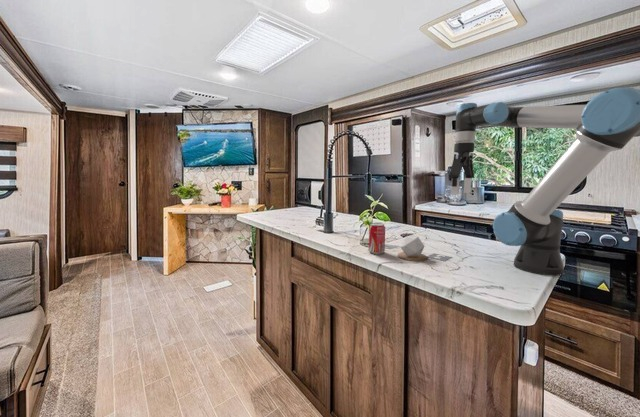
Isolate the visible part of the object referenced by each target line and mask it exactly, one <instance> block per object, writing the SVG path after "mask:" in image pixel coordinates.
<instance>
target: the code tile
mask: <svg viewBox="0 0 640 417" xmlns="http://www.w3.org/2000/svg"><path fill="white" fill-rule="evenodd" d="M426 256H427V259H433V260H437V261H440V262H446V261H448V260H450V259H452V258H453V256H448V255H444V254H439V253H434V252H433V253H431V254H429V255H426Z"/></svg>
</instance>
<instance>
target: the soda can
mask: <svg viewBox="0 0 640 417" xmlns="http://www.w3.org/2000/svg"><path fill="white" fill-rule="evenodd" d="M385 250H386V226H385V223H382V222H371V223H370V225H369V226H368V252H369V253H370V254H373V255H382V254H384V253H385Z"/></svg>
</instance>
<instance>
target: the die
mask: <svg viewBox="0 0 640 417" xmlns="http://www.w3.org/2000/svg"><path fill="white" fill-rule="evenodd" d="M424 248H425V244H424V243H423V242H422V240H421V239H420V237H419V236H405V237H404V239H403V242H402V244H401V245H400V249H401V250H402V252H404V253H405V255H406V256H407V257H420V255H421V254H423V253H422V252H423V250H424Z"/></svg>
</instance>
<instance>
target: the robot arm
mask: <svg viewBox="0 0 640 417" xmlns="http://www.w3.org/2000/svg"><path fill="white" fill-rule="evenodd" d="M482 126H494V127H495V126H496V127H503V128H504V127H505V128H510V129H511V128H512V129H514V128H532V129H534V128H538V129H539V128H540V129H542V128H543V129H574V130H575V134H576V138H575V139H574V140H573V141H572V142H571V144H570V145H569V146H568V147H567V148H566V150H564V152H563V153H562V154H561V155H560V156H559V158H558V159H557V160H556V161H555V162H554V164H553V165H552V166H551V167H550V169H549V170H548V171H547V172H546V173H545V175H543V176H542V178H541V179H540V180H539V181H538V183H537V184H536V185H535V186H534V187H533V188H532V190H531V191H530V192H529V193H528V194H527V196H526V197H525V198H524V199H522V200H518V201H515V202H514V203H513V205H512V206H511V207H510V208H509V209H508V211H504V212H501V213H499V214H497V215H496V216H495V218H494V219H493V222H492V229H493V234H494V236H495V237H496V239H497V240H498V241H499V242H501V244H504V245H505V246H511V247H519V248H518V251H517V253H516V255H515V257H514V259H513V266H514V267H515V268H517V269H519V270H520V271H524V272H529V273H532V274H533V273H534V274H540V275H545V276H548V275H549V276H550V275H551V276H559V275H562V274H564V272H565V270H564V269H565V265H564V263H563V262H564V261H563V259H562V255H561V251H560V250H561V249H560V248H561V239H562V234H563V232H562V231H563V224H564V212H563V211H562V210H561V209H557V208H558V207H559V206H560V205H561V204H562V203H563V202H564V201H565V200H566V199H567V198H568V196H569V195H571V193H572V192H573V191H575V189H576V188H577V187H578V186H579V185H580V184H581V183H582V182H583V181H584V180H585V179H586V177H588V176H589V175H590V174H591V173H592V171H594V169H595V168H597V166H598V165H599V164H600V163H601V162H602V161H603V160H604V159H605V158H606V157H607V155H609V153H611V152H616V151H620V150H622V149H624V148H625V146H626V145H627V144H628V143H629V142H630V141H631V140H632V139H633V138H635V137H637V138H638V137H640V89H639V88H634V87H615V88H611V89H607V90H605V91H603V92H600V93H598V94H597V95H596V96H594V97H593V98H591V99H590V100H589V101H588V102H587V104H568V105H541V106H539V105H536V106H508V105H507V104H506V103H505V102H502V101H498V102H491V103H489V104H484V105H479V106H478V105H477V103H475V102H464V103H461V104H459V105H457V107H456V114H455V131H454V132H455V133H454V136H453V137H454V142H455V143H454V146H453V148H454V149H453V152H454V154H453V160H452V163H451V168H450V171H449V175H448V176H449V177H448V178H449V179H451V188H450V195H453V196H456V195H457V196H459V191H460V178H459V177H460V174H461V172H462V170H463V173H464V176H465V177H464V182H463V183H464V184H463V194H471V192H472V181H473V179H474V178H475V170H474V162H473V155H472V154H470V153H474V152H475V143H474V142H475V141H476V129H477V128H476V127H482Z"/></svg>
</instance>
